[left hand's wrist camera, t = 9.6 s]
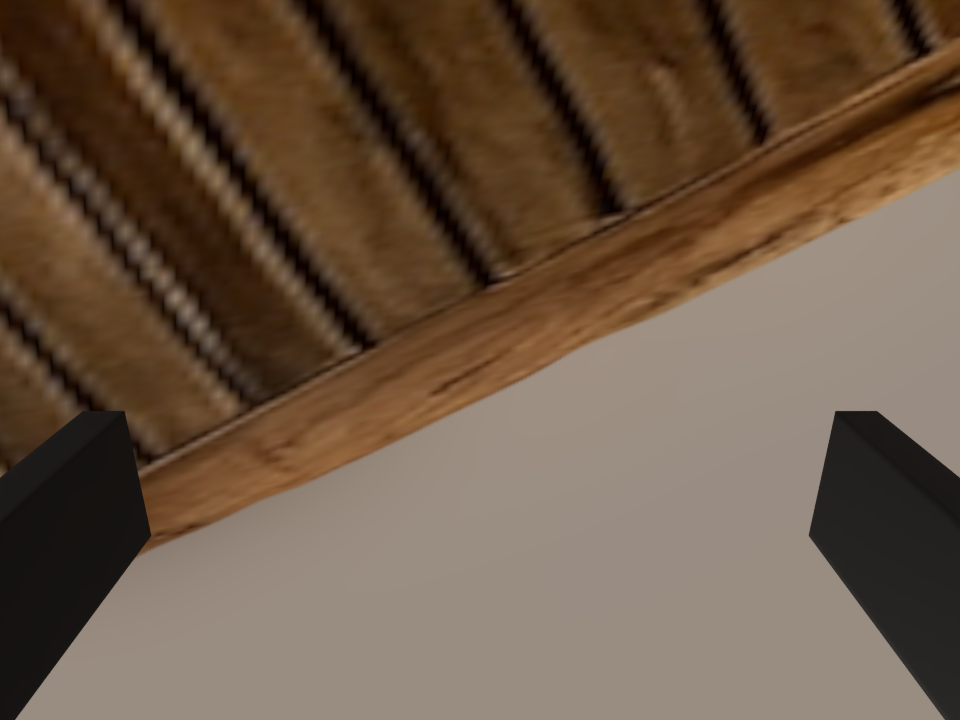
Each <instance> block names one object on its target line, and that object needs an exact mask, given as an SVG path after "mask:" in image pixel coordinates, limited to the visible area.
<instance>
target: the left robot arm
mask: <svg viewBox="0 0 960 720" xmlns="http://www.w3.org/2000/svg"><path fill="white" fill-rule="evenodd" d="M150 537H151V532H150V527H149V523H148V518H147V513H146V509H145V504H144V500H143V495H142V490H141V486H140V481H139V476H138V472H137V467H136V462H135V458H134V453H133V448H132V444H131V439H130V435H129V430H128V425H127V421H126V416H125V411H83V412H81V413H80V414H79V415H78V416H76V417H75V418H74V419H73V420H71V421H70V422H69V423H68V424H66V425H65V426H64V427H63V428H61V429H60V430H59V431H58V432H56V433H55V434H54V435H53V436H51V437H50V438H49V439H48V440H47V441H45V442H44V443H43V444H42V445H40V446H39V447H38V448H37V449H35V450H34V451H33V452H32V453H30V454H29V455H28V456H27V457H25V458H24V459H23V460H22V461H20V462H19V463H18V464H17V465H15V466H14V467H13V468H12V469H10V470H9V471H8V472H7V473H6V474H4V475H3V476H2V477H1V478H0V720H15V719H16V718H17V716H18V715H19V714H20V712H21V711H22V710H23V708H24V707H25V706H26V704H27V703H28V702H29V700H30V699H31V697H32V696H33V695H34V693H35V692H36V691H37V689H38V688H39V687H40V685H41V684H42V683H43V681H44V680H45V679H46V677H47V676H48V674H49V673H50V672H51V670H52V669H53V668H54V666H55V665H56V664H57V662H58V661H59V660H60V658H61V657H62V656H63V654H64V653H65V651H66V650H67V649H68V647H69V646H70V645H71V643H72V642H73V641H74V639H75V638H76V637H77V635H78V634H79V633H80V631H81V630H82V628H83V627H84V626H85V625H86V623H87V622H88V620H89V619H90V618H91V616H92V615H93V614H94V612H95V611H96V610H97V608H98V607H99V606H100V604H101V603H102V602H103V600H104V599H105V597H106V596H107V595H108V593H109V592H110V591H111V589H112V588H113V587H114V585H115V584H116V583H117V581H118V580H119V579H120V577H121V576H122V575H123V573H124V572H125V570H126V569H127V568H128V566H129V565H130V564H131V562H132V561H133V560H134V558H135V557H136V556H137V554H138V553H139V552H140V550H141V549H142V547H143V546H144V545H145V543H146V542H147V541H148V539H149V538H150ZM809 537H810V538H811V539H812V541H813V542H814V543H815V545H816V546H817V547H818V549H819V550H820V552H821V553H822V554H823V555H824V557H825V558H826V560H827V561H828V562H829V564H830V565H831V566H832V568H833V569H834V570H835V572H836V573H837V574H838V576H839V577H840V578H841V580H842V581H843V583H844V584H845V585H846V587H847V588H848V589H849V591H850V592H851V593H852V595H853V596H854V597H855V599H856V600H857V602H858V603H859V604H860V606H861V607H862V608H863V610H864V611H865V612H866V614H867V615H868V616H869V618H870V619H871V620H872V622H873V623H874V624H875V626H876V627H877V629H878V630H879V631H880V633H881V634H882V635H883V637H884V638H885V639H886V641H887V642H888V643H889V645H890V646H891V647H892V649H893V650H894V652H895V653H896V654H897V656H898V657H899V658H900V660H901V661H902V662H903V664H904V665H905V666H906V668H907V669H908V670H909V672H910V673H911V674H912V676H913V677H914V679H915V680H916V681H917V683H918V684H919V685H920V687H921V688H922V689H923V691H924V692H925V693H926V695H927V696H928V697H929V699H930V700H931V702H932V703H933V704H934V705H935V707H936V708H937V710H938V711H939V712H940V714H941V715H942V716H943V718H944V719H945V720H960V478H959V477H958V476H957V475H956V474H954V473H953V472H952V471H951V470H949V469H948V468H947V467H946V466H945V465H943V464H942V463H941V462H940V461H938V460H937V459H936V458H935V457H933V456H932V455H931V454H930V453H928V452H927V451H926V450H925V449H923V448H922V447H921V446H920V445H918V444H917V443H916V442H915V441H913V440H912V439H911V438H910V437H908V436H907V435H906V434H905V433H904V432H902V431H901V430H900V429H899V428H897V427H896V426H895V425H894V424H892V423H891V422H890V421H889V420H887V419H886V418H885V417H884V416H882V415H881V414H880V413H879V412H877V411H836V412H835V416H834V421H833V425H832V430H831V435H830V439H829V444H828V448H827V453H826V458H825V462H824V467H823V472H822V476H821V481H820V486H819V490H818V495H817V500H816V504H815V509H814V513H813V518H812V523H811V527H810V532H809Z"/></svg>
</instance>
